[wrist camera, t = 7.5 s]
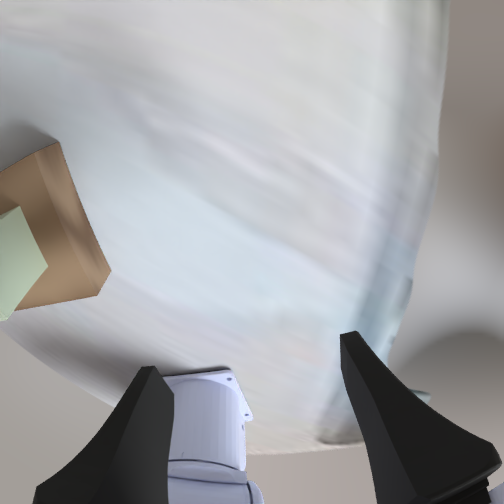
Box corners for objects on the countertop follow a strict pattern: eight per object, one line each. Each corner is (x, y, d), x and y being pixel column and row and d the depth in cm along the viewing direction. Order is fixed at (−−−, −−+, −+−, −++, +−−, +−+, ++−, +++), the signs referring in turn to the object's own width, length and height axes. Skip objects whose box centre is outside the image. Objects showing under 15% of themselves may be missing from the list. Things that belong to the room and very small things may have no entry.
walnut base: (111, 270, 21) (97, 295, 18) (25, 290, 22) (10, 311, 19) (59, 141, 16) (33, 152, 13) (-23, 189, 17) (-46, 204, 14)
